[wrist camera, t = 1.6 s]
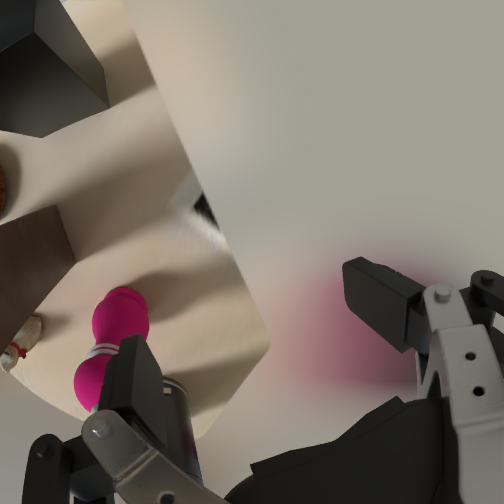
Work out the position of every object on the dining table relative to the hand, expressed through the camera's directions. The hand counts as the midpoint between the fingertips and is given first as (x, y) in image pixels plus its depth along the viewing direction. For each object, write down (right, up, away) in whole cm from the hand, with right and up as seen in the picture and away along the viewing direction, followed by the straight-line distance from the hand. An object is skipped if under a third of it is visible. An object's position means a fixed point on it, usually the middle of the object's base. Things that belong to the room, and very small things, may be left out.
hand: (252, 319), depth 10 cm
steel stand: (-22, +21, +15) cm, 34 cm away
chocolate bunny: (-34, -9, +21) cm, 41 cm away
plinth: (-28, +3, +19) cm, 34 cm away
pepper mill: (-17, -5, +25) cm, 30 cm away
